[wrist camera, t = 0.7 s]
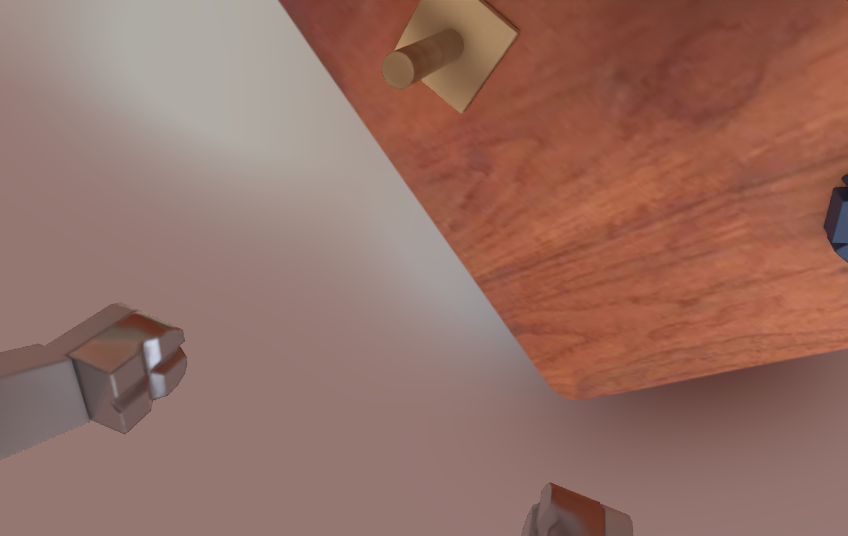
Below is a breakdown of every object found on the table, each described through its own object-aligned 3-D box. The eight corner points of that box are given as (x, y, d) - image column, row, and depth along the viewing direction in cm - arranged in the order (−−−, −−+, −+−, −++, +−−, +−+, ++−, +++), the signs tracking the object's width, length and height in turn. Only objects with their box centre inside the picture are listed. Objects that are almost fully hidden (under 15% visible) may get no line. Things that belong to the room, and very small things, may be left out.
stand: (442, -35, 37) (376, -28, 28) (520, 31, 37) (477, 58, 29) (396, 53, 42) (328, 81, 34) (464, 111, 42) (414, 152, 34)
